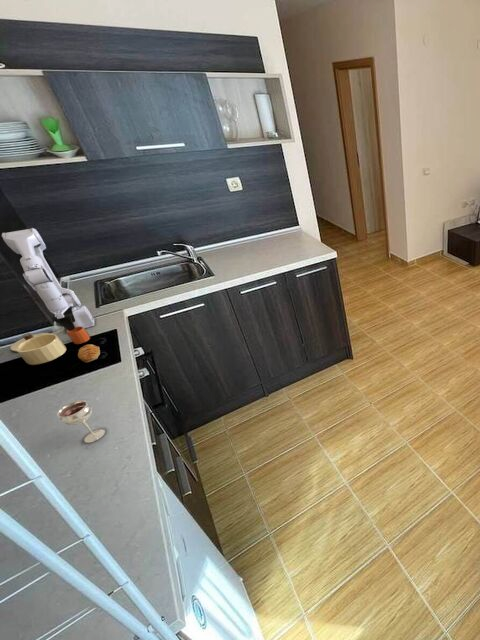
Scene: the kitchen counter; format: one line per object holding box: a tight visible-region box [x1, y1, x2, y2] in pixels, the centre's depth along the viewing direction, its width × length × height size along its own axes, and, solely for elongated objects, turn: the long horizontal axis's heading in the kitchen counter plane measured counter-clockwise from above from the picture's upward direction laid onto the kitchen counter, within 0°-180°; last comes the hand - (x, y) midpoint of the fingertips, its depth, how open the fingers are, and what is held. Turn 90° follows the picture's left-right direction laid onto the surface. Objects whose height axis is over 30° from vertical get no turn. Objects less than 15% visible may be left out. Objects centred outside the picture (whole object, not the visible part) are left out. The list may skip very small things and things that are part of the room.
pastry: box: [77, 343, 101, 364], centre depth 138 cm, size 9×7×4 cm
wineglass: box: [56, 399, 106, 444], centre depth 103 cm, size 7×7×12 cm
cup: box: [66, 326, 91, 345], centre depth 148 cm, size 5×6×6 cm
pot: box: [15, 333, 67, 366], centre depth 139 cm, size 12×12×6 cm
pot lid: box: [9, 332, 51, 353], centre depth 146 cm, size 13×13×4 cm
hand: (72, 326), depth 145 cm, fingers open, 7 cm apart
